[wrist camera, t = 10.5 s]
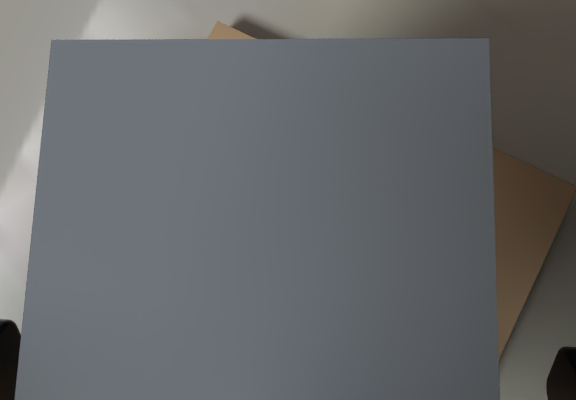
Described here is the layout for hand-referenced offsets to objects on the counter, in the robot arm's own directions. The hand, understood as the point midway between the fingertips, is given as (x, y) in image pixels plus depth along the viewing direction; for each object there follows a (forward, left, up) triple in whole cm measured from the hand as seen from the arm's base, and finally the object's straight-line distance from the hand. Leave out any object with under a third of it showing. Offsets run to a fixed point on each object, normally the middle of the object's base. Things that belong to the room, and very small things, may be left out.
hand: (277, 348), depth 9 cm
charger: (+1, +1, -5) cm, 6 cm away
